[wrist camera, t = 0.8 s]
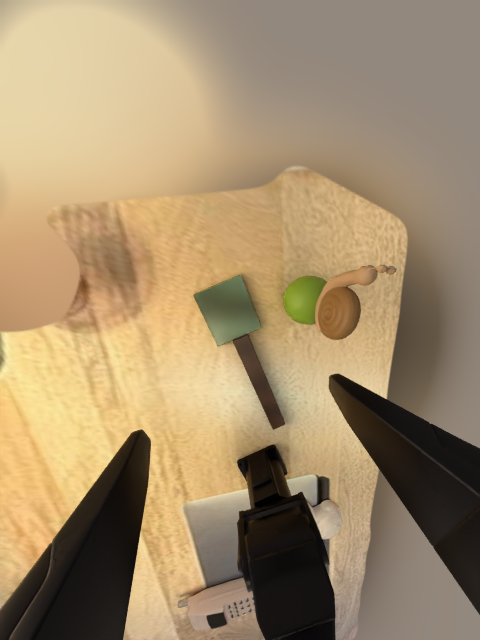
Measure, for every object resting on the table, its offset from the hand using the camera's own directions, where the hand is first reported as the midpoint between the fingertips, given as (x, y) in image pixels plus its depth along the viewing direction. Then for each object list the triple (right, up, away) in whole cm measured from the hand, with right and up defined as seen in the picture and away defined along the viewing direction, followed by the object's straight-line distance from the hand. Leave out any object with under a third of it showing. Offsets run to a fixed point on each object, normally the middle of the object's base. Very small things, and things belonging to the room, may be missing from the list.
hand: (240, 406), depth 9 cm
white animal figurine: (+12, -32, +26) cm, 43 cm away
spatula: (+1, -1, +17) cm, 17 cm away
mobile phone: (+1, -49, +29) cm, 57 cm away
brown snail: (+7, +7, +15) cm, 18 cm away
